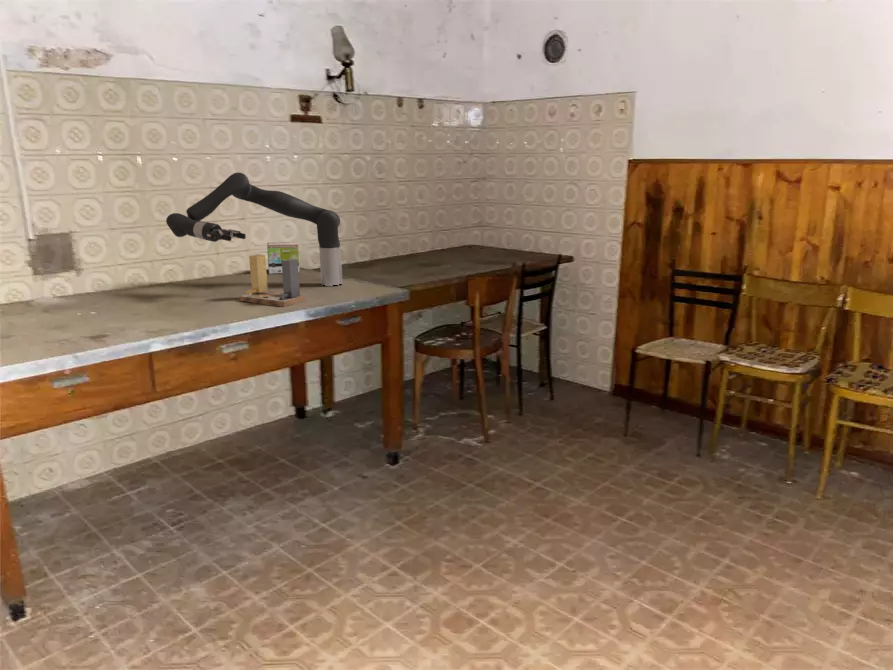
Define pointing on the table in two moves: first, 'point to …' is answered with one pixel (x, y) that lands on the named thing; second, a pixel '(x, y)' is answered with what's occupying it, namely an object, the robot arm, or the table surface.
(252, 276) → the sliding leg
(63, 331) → the table surface
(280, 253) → the tea box
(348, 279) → the table surface
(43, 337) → the table surface
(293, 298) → the divider base
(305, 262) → the table surface
